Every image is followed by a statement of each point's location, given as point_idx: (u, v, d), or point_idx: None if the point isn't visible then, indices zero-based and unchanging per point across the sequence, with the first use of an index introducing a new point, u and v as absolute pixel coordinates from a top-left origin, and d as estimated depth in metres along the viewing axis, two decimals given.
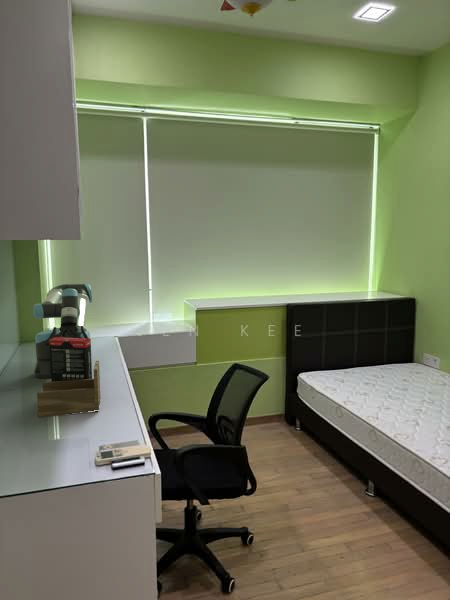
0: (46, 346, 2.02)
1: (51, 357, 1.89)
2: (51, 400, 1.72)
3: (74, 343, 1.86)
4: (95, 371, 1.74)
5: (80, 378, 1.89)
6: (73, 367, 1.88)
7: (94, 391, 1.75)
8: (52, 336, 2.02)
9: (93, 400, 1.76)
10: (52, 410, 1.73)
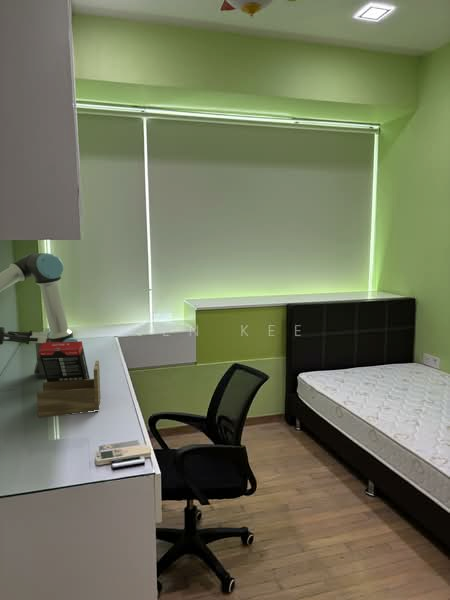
0: None
1: (44, 365, 1.82)
2: (51, 400, 1.72)
3: (66, 351, 1.78)
4: (95, 371, 1.74)
5: None
6: (70, 372, 1.84)
7: (94, 391, 1.75)
8: None
9: (93, 400, 1.76)
10: (52, 410, 1.73)
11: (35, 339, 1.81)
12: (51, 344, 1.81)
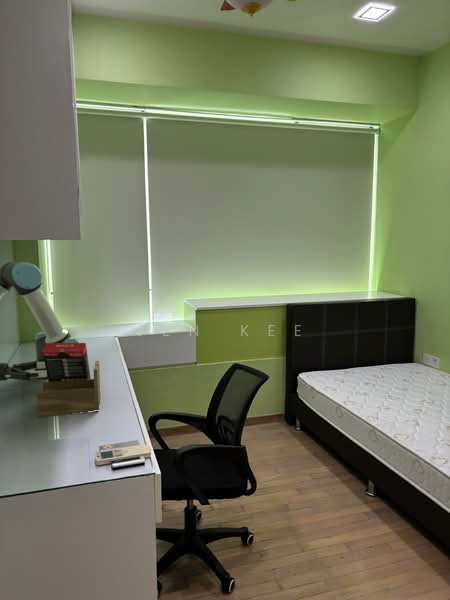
0: None
1: (47, 366, 1.81)
2: (51, 400, 1.72)
3: (71, 353, 1.79)
4: (95, 371, 1.74)
5: None
6: (72, 373, 1.84)
7: (94, 391, 1.75)
8: None
9: (93, 400, 1.76)
10: (52, 410, 1.73)
11: (35, 374, 1.80)
12: (55, 345, 1.81)
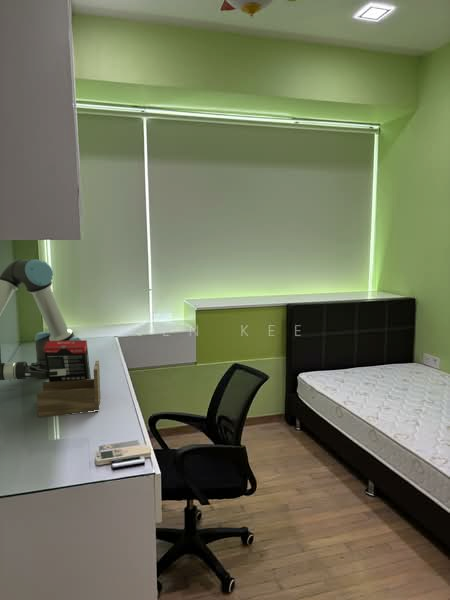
0: None
1: (47, 363, 1.83)
2: (51, 400, 1.72)
3: (72, 349, 1.81)
4: (95, 371, 1.74)
5: (81, 379, 1.88)
6: (73, 370, 1.86)
7: (94, 391, 1.75)
8: None
9: (93, 400, 1.76)
10: (52, 410, 1.73)
11: (55, 373, 1.82)
12: (56, 342, 1.83)
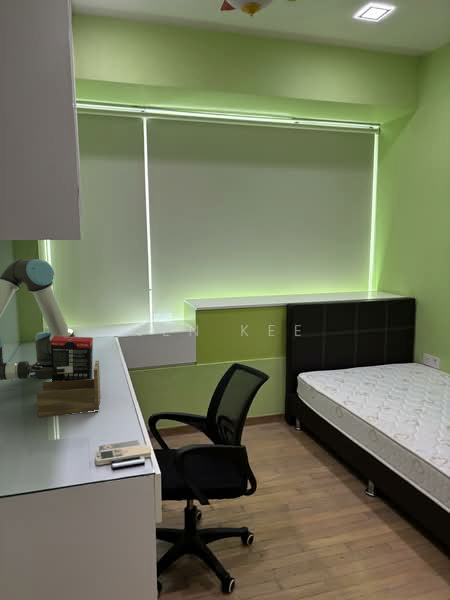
0: None
1: (52, 357, 1.86)
2: (51, 400, 1.72)
3: (78, 343, 1.86)
4: (95, 371, 1.74)
5: (83, 377, 1.90)
6: (76, 366, 1.89)
7: (94, 391, 1.75)
8: None
9: (93, 400, 1.76)
10: (52, 410, 1.73)
11: (62, 370, 1.86)
12: (63, 337, 1.89)
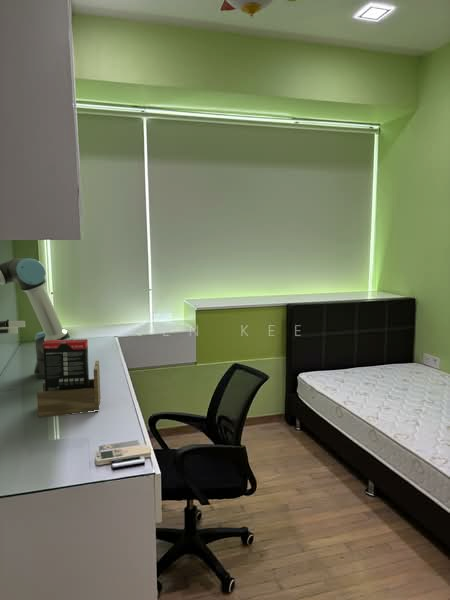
0: None
1: (45, 362, 1.74)
2: (51, 400, 1.72)
3: (73, 344, 1.75)
4: (95, 371, 1.74)
5: (80, 381, 1.78)
6: (72, 370, 1.76)
7: (94, 391, 1.75)
8: None
9: (93, 400, 1.76)
10: (52, 410, 1.73)
11: (5, 330, 1.72)
12: (56, 340, 1.78)
